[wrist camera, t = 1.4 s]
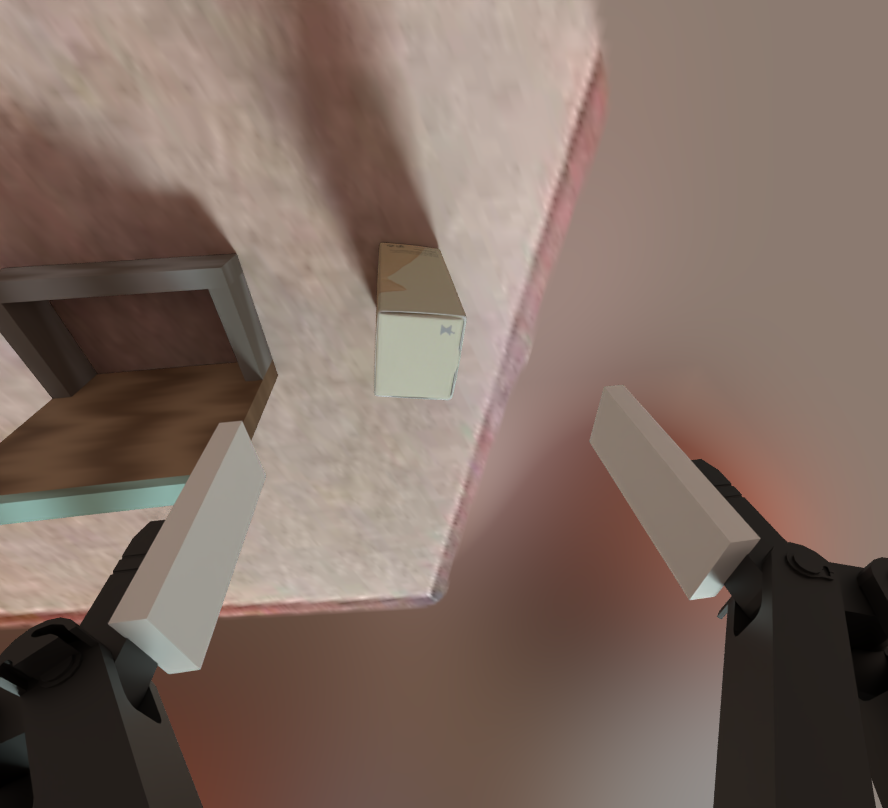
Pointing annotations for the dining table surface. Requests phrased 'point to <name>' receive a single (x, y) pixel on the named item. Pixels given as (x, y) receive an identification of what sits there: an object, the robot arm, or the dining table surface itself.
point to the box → (416, 324)
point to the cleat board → (121, 392)
